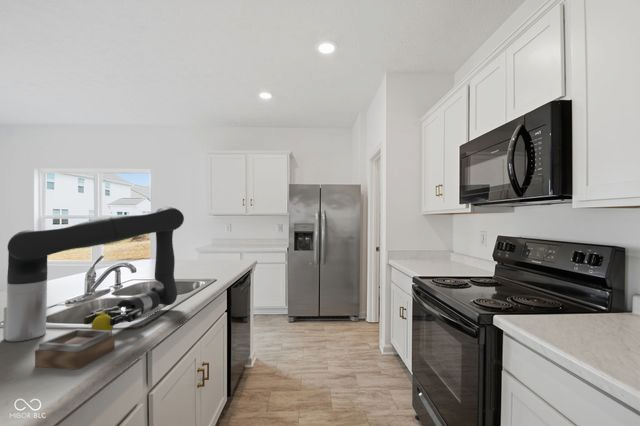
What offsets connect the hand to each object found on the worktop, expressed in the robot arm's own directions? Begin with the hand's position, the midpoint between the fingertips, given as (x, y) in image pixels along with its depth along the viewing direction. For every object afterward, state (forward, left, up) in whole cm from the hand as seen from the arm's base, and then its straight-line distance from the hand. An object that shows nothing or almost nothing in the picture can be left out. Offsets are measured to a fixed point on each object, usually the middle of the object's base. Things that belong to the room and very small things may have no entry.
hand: (98, 321), depth 96 cm
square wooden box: (+3, -10, -6) cm, 12 cm away
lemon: (0, +2, -6) cm, 6 cm away
